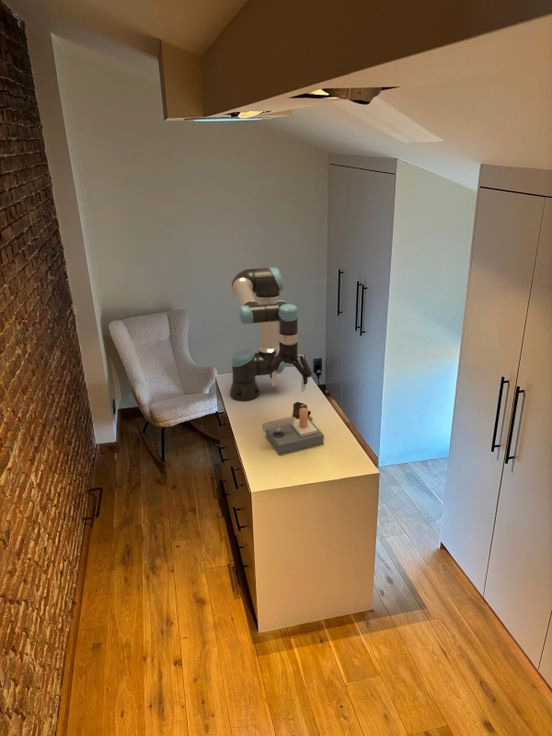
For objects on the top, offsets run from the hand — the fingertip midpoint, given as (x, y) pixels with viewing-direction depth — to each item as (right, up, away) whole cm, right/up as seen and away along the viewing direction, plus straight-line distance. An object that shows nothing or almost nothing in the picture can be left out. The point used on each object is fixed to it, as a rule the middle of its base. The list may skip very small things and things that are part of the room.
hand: (288, 387), depth 233 cm
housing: (+3, -24, +8) cm, 25 cm away
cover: (+7, -18, +8) cm, 21 cm away
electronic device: (+7, -16, +26) cm, 31 cm away
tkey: (-4, -20, +4) cm, 21 cm away
